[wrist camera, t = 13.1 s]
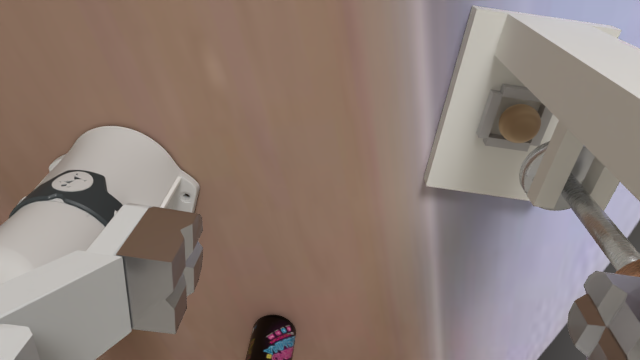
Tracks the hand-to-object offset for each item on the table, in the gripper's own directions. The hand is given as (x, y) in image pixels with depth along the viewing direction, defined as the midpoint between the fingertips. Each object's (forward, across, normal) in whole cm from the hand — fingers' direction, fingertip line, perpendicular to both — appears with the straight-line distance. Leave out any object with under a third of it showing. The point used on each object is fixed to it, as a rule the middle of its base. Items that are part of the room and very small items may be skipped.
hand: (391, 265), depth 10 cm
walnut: (+37, +18, -10) cm, 42 cm away
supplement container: (+41, -5, -50) cm, 65 cm away
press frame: (+41, +18, -10) cm, 46 cm away
